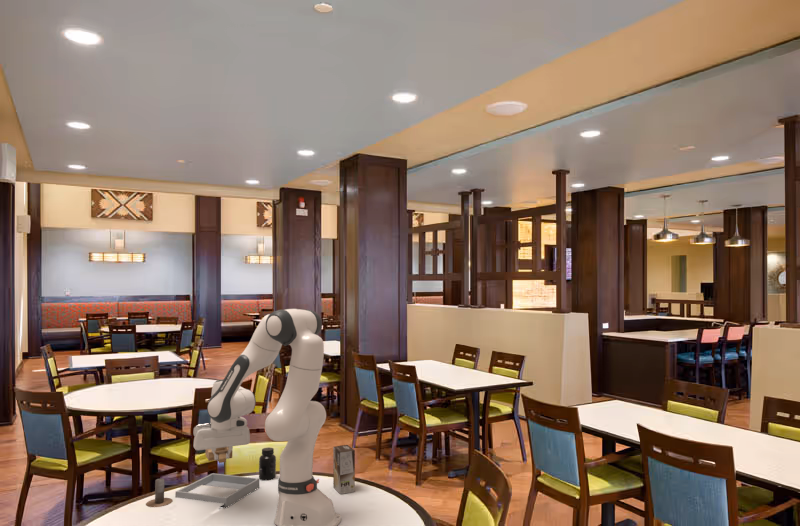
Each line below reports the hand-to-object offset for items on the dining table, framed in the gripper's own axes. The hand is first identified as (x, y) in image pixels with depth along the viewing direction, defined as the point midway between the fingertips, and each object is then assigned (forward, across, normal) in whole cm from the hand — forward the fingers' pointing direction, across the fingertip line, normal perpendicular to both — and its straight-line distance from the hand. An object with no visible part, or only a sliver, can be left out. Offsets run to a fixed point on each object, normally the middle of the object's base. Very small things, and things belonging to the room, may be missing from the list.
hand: (221, 459), depth 207 cm
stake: (+15, -21, +3) cm, 26 cm away
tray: (+15, 0, +6) cm, 16 cm away
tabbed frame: (+1, 0, +4) cm, 4 cm away
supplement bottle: (+15, +22, +16) cm, 31 cm away
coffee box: (+15, +45, -12) cm, 49 cm away
